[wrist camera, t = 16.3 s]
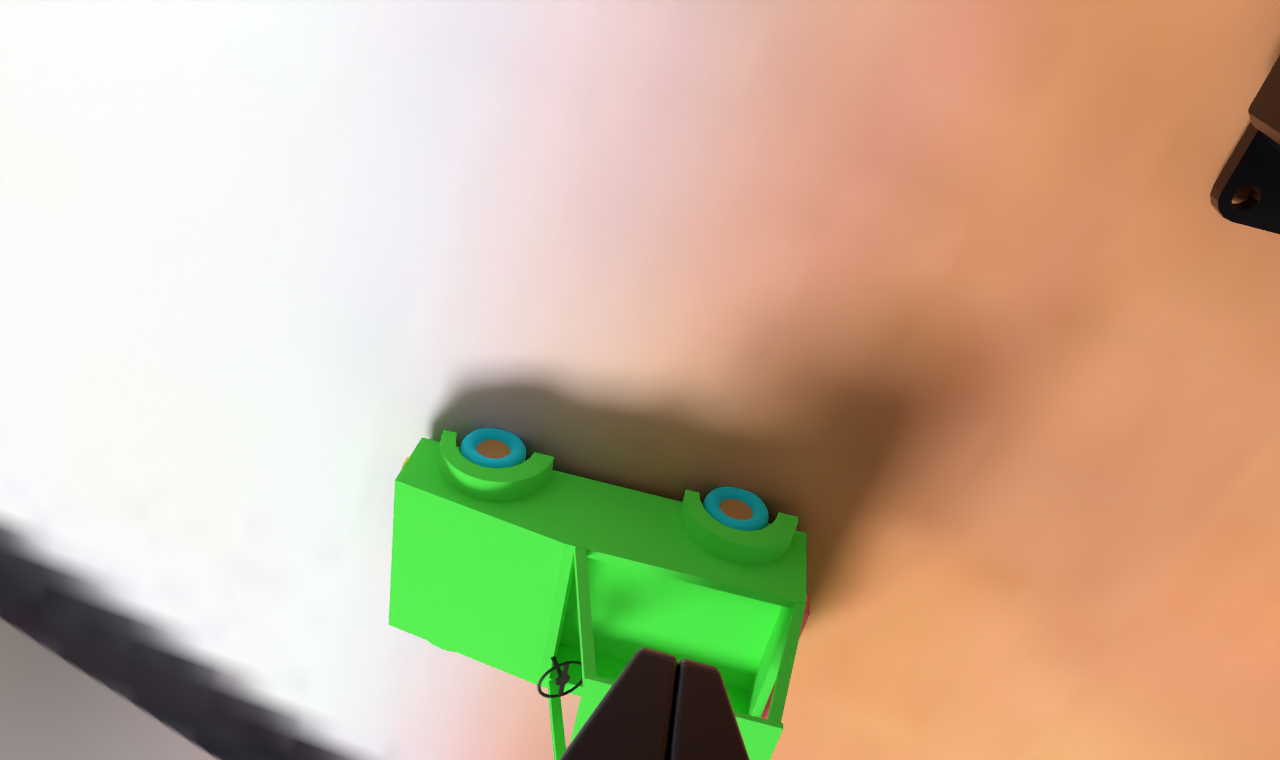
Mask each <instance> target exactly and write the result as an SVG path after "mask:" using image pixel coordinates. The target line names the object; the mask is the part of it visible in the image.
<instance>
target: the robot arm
mask: <svg viewBox="0 0 1280 760" xmlns="http://www.w3.org/2000/svg"><path fill="white" fill-rule="evenodd" d="M1248 112H1249V115H1250V119H1251V123H1250V124H1249V126H1248V128H1247V129H1246V131H1245V133H1244V135H1243V136H1242V138H1241V140H1240V141H1239V143H1238V145H1237V146H1236V148H1235V150H1234V151H1233V153H1232V155H1231V157H1230V158H1229V160H1228V162H1227V163H1226V165H1225V167H1224V168H1223V170H1222V172H1221V174H1220V175H1219V177H1218V179H1217V180H1216V182H1215V184H1214V185H1213V188H1212V191H1211V194H1210V197H1211V204H1212V205H1213V207H1214V208H1215V210H1216V211H1217V212H1218V213H1219V214H1220V215H1222V216H1223V217H1224V218H1226V219H1228V220H1230V221H1232V222H1235V223H1239V224H1243V225H1247V226H1250V227H1254V228H1258V229H1262V230H1266V231H1270V232H1273V233H1277V234H1280V56H1279V57H1278V59H1277V61H1276V63H1275V64H1274V66H1273V68H1272V69H1271V71H1270V73H1269V75H1268V76H1267V78H1266V80H1265V81H1264V83H1263V85H1262V87H1261V88H1260V90H1259V92H1258V93H1257V95H1256V97H1255V99H1254V100H1253V102H1252V104H1251V105H1250V107H1249V111H1248ZM1245 186H1252V187H1253V190H1252V193H1251V195H1250V196H1249V197H1248V198H1247V199H1246V200H1245V201H1243V202H1241V203H1238V204H1232V202H1231V201H1232V198H1233V195H1234V194H1235V193H1236V192H1237V191H1238V190H1239V189H1241V188H1243V187H1245ZM559 760H750V759H749V756H748V753H747V750H746V747H745V744H744V741H743V738H742V735H741V732H740V729H739V726H738V723H737V720H736V717H735V714H734V711H733V708H732V705H731V702H730V699H729V696H728V693H727V690H726V687H725V684H724V681H723V678H722V676H721V674H720V672H719V670H718V669H717V668H716V667H714V666H711V665H708V664H704V663H700V662H697V661H693V660H689V659H682V660H680V661H679V662H678V661H677V658H676V657H675V656H673V655H671V654H668V653H664V652H660V651H657V650H653V649H649V648H645V647H643V648H640V649H639V650H637V652H636V653H635V654H634V655H633V657H632V658H631V660H630V661H629V662H628V664H627V665H626V667H625V668H624V669H623V671H622V672H621V674H620V675H619V676H618V678H617V679H616V681H615V682H614V683H613V685H612V686H611V688H610V689H609V690H608V692H607V693H606V695H605V696H604V697H603V699H602V700H601V702H600V703H599V704H598V706H597V707H596V708H595V710H594V711H593V713H592V714H591V715H590V717H589V718H588V720H587V721H586V722H585V724H584V725H583V727H582V728H581V729H580V731H579V732H578V734H577V735H576V736H575V738H574V739H573V741H572V742H571V743H570V745H569V746H568V748H567V749H566V750H565V752H564V753H563V755H562V756H561V757H560V759H559Z"/></svg>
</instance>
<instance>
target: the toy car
mask: <svg viewBox="0 0 1280 760" xmlns="http://www.w3.org/2000/svg"><path fill="white" fill-rule="evenodd" d="M456 441H457V433H456V432H452V431H448V430H443V432H442V434H441V439H440V442H438V441H434V440H430V439H426V438H422V439H421V440H420V442H419V443H418V445H417V447H416V448H415V450H414V451H413V453H412V454H411V456H410V457H407V459H406V460H405V462H404V464H403V467H402V470H401V472H400V473H399V475H398V477H397V478H396V480H395V497H394V520H393V543H392V565H391V588H390V610H389V625H391V626H394V627H396V628H399V629H401V630H404V631H406V632H408V633H411V634H413V635H416V636H418V637H421V638H423V639H426V640H428V641H429V642H430V643H432V644H433V645H435V646H437V647H439V648H441V649H444V650H447V651H452V652H458V653H460V654H463V655H465V656H468V657H470V658H472V659H475V660H477V661H480V662H482V663H485V664H487V665H490V666H492V667H495V668H497V669H500V670H502V671H504V672H507V673H509V674H512V675H514V676H517V677H519V678H522V679H524V680H527V681H529V682H532V683H534V684H536V685H537V686H538V692H539V694H541V695H542V696H543V697H547V698H549V708H550V718H551V729H552V740H553V751H554V760H559V759H560V757H561V756H562V755H563V753H564V752H565V750H566V745H565V736H564V727H563V718H562V708H561V699H560V697H561V696H564V695H566V694H568V693H571V694H574V695H578V696H581V699H580V704H579V708H578V712H577V717H576V721H575V726H574V730H573V734H572V739H571V742H572V741H573V739H574V738H575V736H576V735H577V734H578V732H579V731H580V729H581V728H582V727H583V725H584V724H585V722H586V721H587V720H588V718H589V717H590V715H591V714H592V713H593V711H594V710H595V708H596V707H597V706H598V704H599V703H600V702H601V700H602V699H603V697H604V696H605V695H606V693H607V692H608V690H609V689H610V688H611V686H612V685H613V683H614V682H615V681H616V679H617V678H618V676H619V675H620V674H621V672H622V671H623V669H624V668H625V667H626V665H627V664H628V662H629V661H630V660H631V658H632V657H633V655H634V654H635V653H636V652H637V650H639V649H640V648H643V647H645V648H649V649H653V650H657V651H660V652H664V653H668V654H671V655H673V656H675V657H676V658H677V661H678V662H679V661H680V660H682V659H689V660H693V661H697V662H700V663H704V664H708V665H711V666H714V667H716V668H717V669H718V670H719V672H720V674H721V676H722V678H723V681H724V684H725V687H726V690H727V693H728V696H729V699H730V702H731V705H732V708H733V711H734V714H735V717H736V720H737V723H738V726H739V729H740V732H741V735H742V738H743V741H744V744H745V747H746V750H747V753H748V756H749V759H750V760H770V758H771V756H772V753H773V751H774V749H775V746H776V744H777V742H778V739H779V737H780V735H781V732H782V730H783V723H781V719H782V714H783V710H784V705H785V700H786V696H787V691H788V686H789V682H790V677H791V673H792V668H793V663H794V659H795V654H796V649H797V645H798V640H799V638H800V635H801V633H802V631H803V628H804V626H805V623H806V621H807V618H808V616H809V594H807V533H806V532H802V531H798V530H796V527H797V525H798V520H799V517H796V516H792V515H788V514H784V513H780V512H778V514H777V517H776V519H775V521H774V522H773V523H772V524H770V523H768V520H769V514H768V510H767V508H766V506H765V504H764V502H763V501H762V500H761V499H760V498H759V497H758V496H757V495H756V494H754V493H752V492H749V491H747V490H744V489H739V488H735V487H728V486H723V487H719V488H716V489H714V490H712V491H711V492H710V493H709V494H708V495H707V496H706V498H705V500H704V502H703V505H702V503H701V500H700V493H699V492H695V491H691V490H687V489H686V490H685V494H684V498H683V501H682V502H681V501H677V500H673V499H668V498H664V497H660V496H656V495H652V494H648V493H644V492H640V491H636V490H632V489H628V488H624V487H620V486H616V485H612V484H608V483H604V482H600V481H596V480H592V479H588V478H584V477H579V476H575V475H571V474H567V473H563V472H559V471H555V470H552V469H553V463H554V457H553V456H549V455H545V454H541V453H537V452H534V453H533V455H532V456H531V457H530V458H529V459H527V460H526V455H527V454H526V448H525V445H524V443H523V442H522V440H521V439H520V438H519V437H518V436H517V435H515V434H513V433H510V432H508V431H504V430H500V429H496V428H481V429H478V430H475V431H473V432H471V433H470V434H468V435H467V436H466V437H465V438H464V439H463V440H462V443H461V446H460V447H458V446H456ZM525 460H526V461H525ZM541 686H543V687H547V688H548V694H544V693H543V692H542V691H541ZM767 716H768V717H767Z"/></svg>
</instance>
